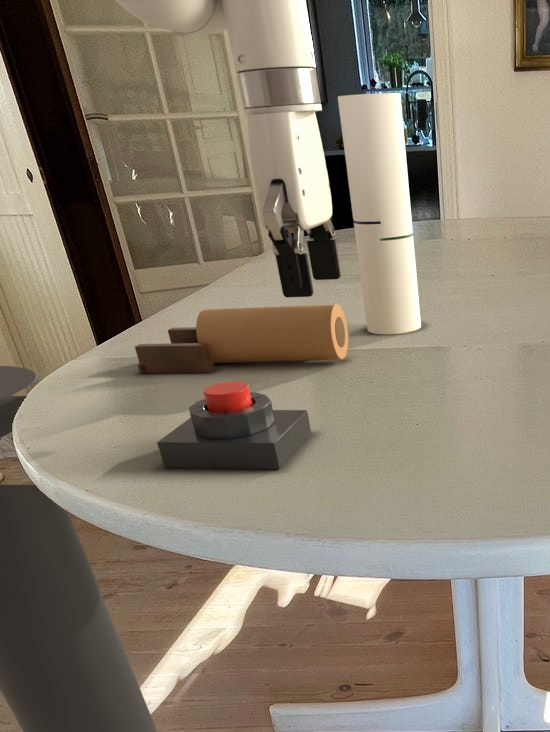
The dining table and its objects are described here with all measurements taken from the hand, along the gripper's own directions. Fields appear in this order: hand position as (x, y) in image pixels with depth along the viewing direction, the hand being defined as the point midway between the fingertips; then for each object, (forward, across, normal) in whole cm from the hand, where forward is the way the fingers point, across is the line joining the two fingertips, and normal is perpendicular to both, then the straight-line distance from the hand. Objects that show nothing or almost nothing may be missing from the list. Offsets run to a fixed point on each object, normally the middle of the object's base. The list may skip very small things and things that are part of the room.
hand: (313, 287), depth 81 cm
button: (+4, +28, +1) cm, 28 cm away
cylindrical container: (+8, -16, +4) cm, 18 cm away
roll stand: (+8, 0, -17) cm, 18 cm away
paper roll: (+5, 0, -14) cm, 15 cm away
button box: (+8, +28, +1) cm, 29 cm away
